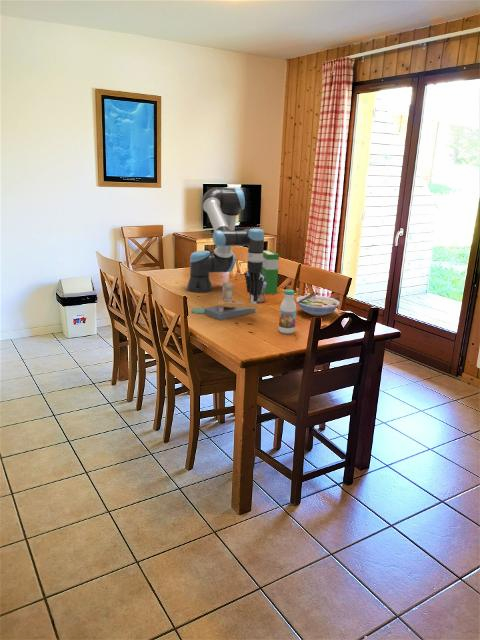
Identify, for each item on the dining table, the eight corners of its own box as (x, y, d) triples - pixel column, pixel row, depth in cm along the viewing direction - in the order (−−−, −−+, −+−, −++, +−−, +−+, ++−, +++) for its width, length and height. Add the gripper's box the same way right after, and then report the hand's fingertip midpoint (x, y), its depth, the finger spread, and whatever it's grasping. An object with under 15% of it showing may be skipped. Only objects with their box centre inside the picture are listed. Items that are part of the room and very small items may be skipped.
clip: (218, 304, 255) (218, 300, 255) (258, 308, 252) (259, 304, 252) (217, 306, 252) (217, 302, 251) (257, 310, 249) (258, 305, 248)
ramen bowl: (327, 324, 251) (329, 308, 248) (286, 315, 262) (287, 300, 259) (345, 312, 271) (347, 298, 268) (306, 305, 282) (308, 291, 280)
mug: (267, 303, 283) (268, 284, 280) (251, 303, 282) (252, 284, 279) (264, 297, 295) (264, 279, 292) (248, 297, 294) (249, 279, 290)
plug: (213, 312, 263) (214, 282, 258) (227, 309, 269) (228, 280, 264) (225, 316, 256) (226, 286, 251) (239, 313, 262) (241, 283, 257)
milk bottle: (277, 328, 241) (279, 288, 235) (293, 328, 241) (296, 288, 235) (279, 333, 233) (282, 292, 227) (296, 334, 234) (299, 292, 228)
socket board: (204, 314, 259) (204, 303, 257) (239, 306, 274) (239, 296, 272) (220, 320, 250) (220, 309, 248) (255, 312, 265) (255, 302, 263)
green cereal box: (256, 286, 319) (258, 249, 312) (267, 286, 321) (270, 249, 314) (264, 294, 303) (267, 254, 296) (276, 293, 305) (279, 254, 297)
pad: (187, 310, 263) (187, 309, 263) (201, 308, 269) (201, 307, 269) (198, 315, 257) (198, 313, 257) (212, 312, 263) (212, 311, 262)
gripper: (240, 259, 248) (239, 305, 255) (259, 264, 239) (257, 311, 246) (251, 258, 253) (249, 302, 260) (270, 262, 244) (267, 308, 251)
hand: (253, 307), depth 253 cm, fingers closed
